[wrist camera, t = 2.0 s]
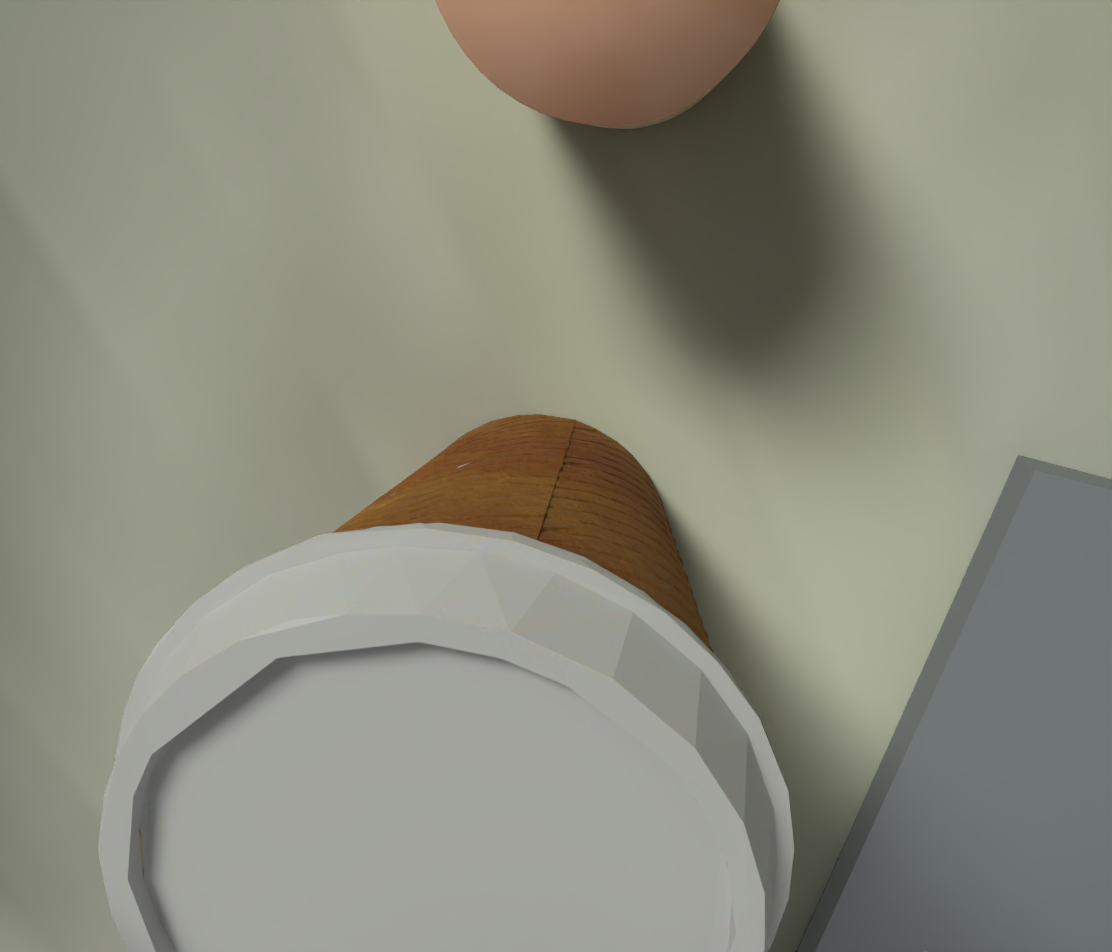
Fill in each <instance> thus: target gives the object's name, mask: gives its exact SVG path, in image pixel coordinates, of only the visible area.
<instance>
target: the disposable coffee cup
mask: <svg viewBox="0 0 1112 952" xmlns="http://www.w3.org/2000/svg"><path fill="white" fill-rule="evenodd" d="M98 853H99V858H100V863H101V869H102V874H103V879H104V884H105V889H106V894H107V899H108V904H109V910H110V913H111V916H112V918H113V920H114V923H115V925H116V927H117V929H118V932H119V934H120V936H121V938H122V941H123V943H124V945H125V948H126V950H127V952H768V950H769V949H770V947H771V945H772V944H773V941H774V938H775V935H776V933H777V930H778V927H779V924H780V922H781V919H782V916H783V913H784V910H785V908H786V905H787V902H788V899H789V892H790V883H791V874H792V865H793V856H794V840H793V830H792V821H791V812H790V802H789V793H788V789H787V786H786V784H785V781H784V779H783V776H782V774H781V771H780V769H779V766H778V764H777V761H776V759H775V756H774V754H773V751H772V748H771V746H770V743H769V740H768V738H767V735H766V732H765V730H764V727H763V725H762V722H761V719H760V717H759V715H758V713H757V712H756V710H755V709H754V707H753V706H752V704H751V703H750V701H749V700H748V698H747V697H746V695H745V694H744V692H743V691H742V689H741V688H740V687H739V685H738V684H737V682H736V681H735V679H734V678H733V676H732V675H731V673H730V672H729V670H728V669H727V667H726V666H725V665H724V664H723V663H722V662H721V661H720V660H719V659H718V658H717V657H716V656H715V655H714V652H713V650H712V648H711V646H710V644H709V640H708V635H707V633H706V631H705V629H704V627H703V623H702V620H701V618H700V615H699V613H698V609H697V604H696V601H695V599H694V597H693V592H692V590H691V588H690V586H689V582H688V577H687V575H686V573H685V571H684V568H683V563H682V560H681V558H680V556H679V552H678V550H677V548H676V544H675V540H674V538H673V536H672V532H671V529H670V527H669V524H668V520H667V518H666V516H665V512H664V508H663V504H662V501H661V499H660V497H659V495H658V493H657V491H656V489H655V487H654V485H653V483H652V481H651V479H650V477H649V475H648V474H647V473H646V471H645V470H644V469H643V468H642V466H641V465H640V464H639V463H638V462H637V460H636V459H635V458H634V457H633V455H632V454H631V453H630V452H628V451H627V450H626V449H625V448H624V447H623V446H622V445H620V444H619V443H618V442H617V441H615V440H613V439H612V438H610V437H608V436H607V435H605V434H603V433H602V432H600V431H598V430H597V429H595V428H593V427H590V426H588V425H585V424H583V423H581V422H578V421H576V420H572V419H566V418H559V417H553V416H547V415H517V416H512V417H508V418H503V419H499V420H494V421H491V422H489V423H487V424H485V425H483V426H480V427H478V428H476V429H474V430H472V431H470V432H468V433H466V434H464V435H463V436H462V437H460V438H459V439H458V440H456V441H455V442H453V443H452V444H451V445H449V446H448V447H447V448H446V449H445V450H444V451H442V452H441V453H440V454H438V455H437V456H436V457H434V458H433V459H432V460H431V461H429V462H428V463H427V464H425V465H424V466H422V467H421V468H420V469H418V470H417V471H416V472H414V473H413V474H412V475H410V476H409V477H407V478H406V479H405V480H403V481H402V482H401V483H399V484H398V485H397V486H395V487H394V488H393V489H391V490H390V491H389V492H387V493H386V494H384V495H383V496H381V497H380V498H379V499H377V500H376V501H375V502H373V503H372V504H371V505H369V506H368V507H366V508H365V509H364V510H362V511H361V512H360V513H359V514H357V515H356V516H354V517H353V518H352V519H350V520H349V521H348V522H346V523H345V524H344V525H342V526H341V527H339V528H338V529H337V530H336V531H334V532H333V533H327V534H320V535H318V536H315V537H313V538H311V539H308V540H306V541H303V542H301V543H299V544H296V545H294V546H291V547H289V548H287V549H284V550H282V551H279V552H277V553H275V554H272V555H270V556H267V557H265V558H263V559H260V560H258V561H255V562H253V563H251V564H248V565H246V566H245V567H243V568H242V569H240V570H239V571H237V572H236V573H234V574H233V575H231V576H230V577H228V578H227V579H226V580H224V581H223V582H222V583H220V584H219V585H218V586H216V587H215V588H214V589H212V590H211V591H209V592H208V593H207V594H205V595H204V596H203V597H201V598H200V599H199V600H197V601H196V602H195V603H193V604H192V605H191V606H190V607H189V608H188V609H187V610H186V612H185V613H184V614H183V615H182V616H181V617H180V618H179V619H178V620H177V622H176V623H175V624H174V625H173V626H172V627H171V628H170V629H169V631H168V632H167V633H166V634H165V635H164V636H163V637H162V638H161V639H160V641H159V642H158V643H157V644H156V645H155V647H154V649H153V650H152V652H151V654H150V655H149V657H148V659H147V660H146V662H145V664H144V665H143V667H142V669H141V670H140V672H139V674H138V675H137V677H136V680H135V683H134V685H133V688H132V691H131V693H130V696H129V699H128V701H127V704H126V707H125V709H124V712H123V717H122V722H121V728H120V733H119V739H118V744H117V750H116V755H115V764H114V767H113V769H112V772H111V775H110V778H109V781H108V783H107V786H106V789H105V792H104V801H103V809H102V818H101V826H100V835H99V843H98Z"/></svg>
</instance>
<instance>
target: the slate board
mask: <svg viewBox="0 0 1112 952" xmlns="http://www.w3.org/2000/svg"><path fill="white" fill-rule="evenodd" d="M924 951H925V952H1112V480H1111V479H1107V478H1103V477H1099V476H1095V475H1092V474H1088V473H1084V472H1080V471H1076V470H1073V469H1069V468H1065V467H1061V466H1057V465H1054V464H1050V463H1046V462H1042V461H1038V460H1034V459H1031V458H1027V457H1023V456H1019V455H1018V458H1017V460H1016V462H1015V464H1014V466H1013V469H1012V471H1011V473H1010V475H1009V478H1008V480H1007V482H1006V484H1005V487H1004V489H1003V491H1002V493H1001V496H1000V498H999V500H998V502H997V505H996V507H995V509H994V511H993V513H992V516H991V518H990V520H989V522H988V525H987V527H986V529H985V531H984V534H983V536H982V538H981V540H980V543H979V545H978V547H977V549H976V552H975V554H974V556H973V558H972V561H971V563H970V565H969V567H968V569H967V572H966V574H965V576H964V578H963V581H962V583H961V585H960V587H959V590H958V592H957V594H956V596H955V599H954V601H953V603H952V605H951V608H950V610H949V612H948V614H947V616H946V619H945V621H944V623H943V625H942V628H941V630H940V632H939V634H938V637H937V639H936V641H935V643H934V646H933V648H932V650H931V652H930V655H929V657H928V659H927V661H926V663H925V666H924V668H923V670H922V672H921V675H920V677H919V679H918V681H917V684H916V686H915V688H914V690H913V693H912V695H911V697H910V699H909V702H908V704H907V706H906V708H905V711H904V713H903V715H902V717H901V719H900V722H899V724H898V726H897V728H896V731H895V733H894V735H893V737H892V740H891V742H890V744H889V746H888V749H887V751H886V753H885V755H884V758H883V760H882V762H881V764H880V766H879V769H878V771H877V773H876V775H875V778H874V780H873V782H872V784H871V787H870V789H869V791H868V793H867V796H866V798H865V800H864V802H863V805H862V807H861V809H860V811H859V814H858V816H857V818H856V820H855V822H854V825H853V827H852V829H851V831H850V834H849V836H848V838H847V840H846V843H845V845H844V847H843V849H842V852H841V854H840V856H839V858H838V861H837V863H836V865H835V867H834V869H833V872H832V874H831V876H830V878H829V881H828V883H827V885H826V887H825V890H824V892H823V894H822V896H821V899H820V901H819V903H818V905H817V908H816V910H815V912H814V914H813V917H812V919H811V921H810V923H809V925H808V928H807V930H806V932H805V934H804V937H803V939H802V941H801V943H800V946H799V948H798V950H797V952H924Z"/></svg>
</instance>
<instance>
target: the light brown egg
mask: <svg viewBox="0 0 1112 952" xmlns="http://www.w3.org/2000/svg"><path fill="white" fill-rule="evenodd" d="M779 1H780V0H436V2H437V4H438V7H439V10H440V12H441V14H442V16H443V18H444V20H445V22H446V24H447V26H448V28H449V30H450V32H451V33H452V35H453V36H454V38H455V39H456V41H457V42H458V44H459V45H460V47H461V48H462V50H463V51H464V53H465V54H466V56H467V57H468V58H469V59H470V60H471V61H472V62H473V64H474V65H475V66H476V67H477V68H478V69H479V71H480V72H481V73H482V74H483V75H485V76H486V77H487V78H488V79H489V80H490V81H491V82H492V83H493V84H495V85H496V86H497V87H498V88H499V89H500V90H502V91H503V92H505V93H506V94H508V95H509V96H511V97H512V98H514V99H515V100H517V101H518V102H520V103H522V104H524V105H526V106H528V107H530V108H532V109H534V110H536V111H538V112H540V113H543V114H546V115H549V116H552V117H555V118H558V119H561V120H565V121H571V122H576V123H581V124H587V125H593V126H598V127H604V128H610V129H635V128H643V127H648V126H652V125H656V124H659V123H662V122H664V121H667V120H670V119H672V118H674V117H676V116H678V115H680V114H681V113H683V112H685V111H687V110H688V109H690V108H691V107H692V106H694V105H695V104H696V103H698V102H699V101H700V100H702V99H703V98H704V97H705V96H706V95H707V94H708V93H709V92H710V91H711V90H712V89H713V88H714V87H715V86H716V85H717V84H718V83H719V82H720V81H721V80H722V79H723V78H724V77H725V76H726V75H727V74H728V73H729V72H730V71H731V70H732V69H733V68H734V67H735V66H736V65H737V64H738V63H739V62H740V61H741V60H742V59H743V57H744V56H745V55H746V54H747V53H748V51H749V50H750V49H751V48H752V47H753V45H754V44H755V43H756V41H757V40H758V38H759V37H760V35H761V33H762V32H763V30H764V29H765V27H766V26H767V24H768V23H769V21H770V19H771V17H772V15H773V13H774V11H775V9H776V7H777V5H778V3H779Z"/></svg>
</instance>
